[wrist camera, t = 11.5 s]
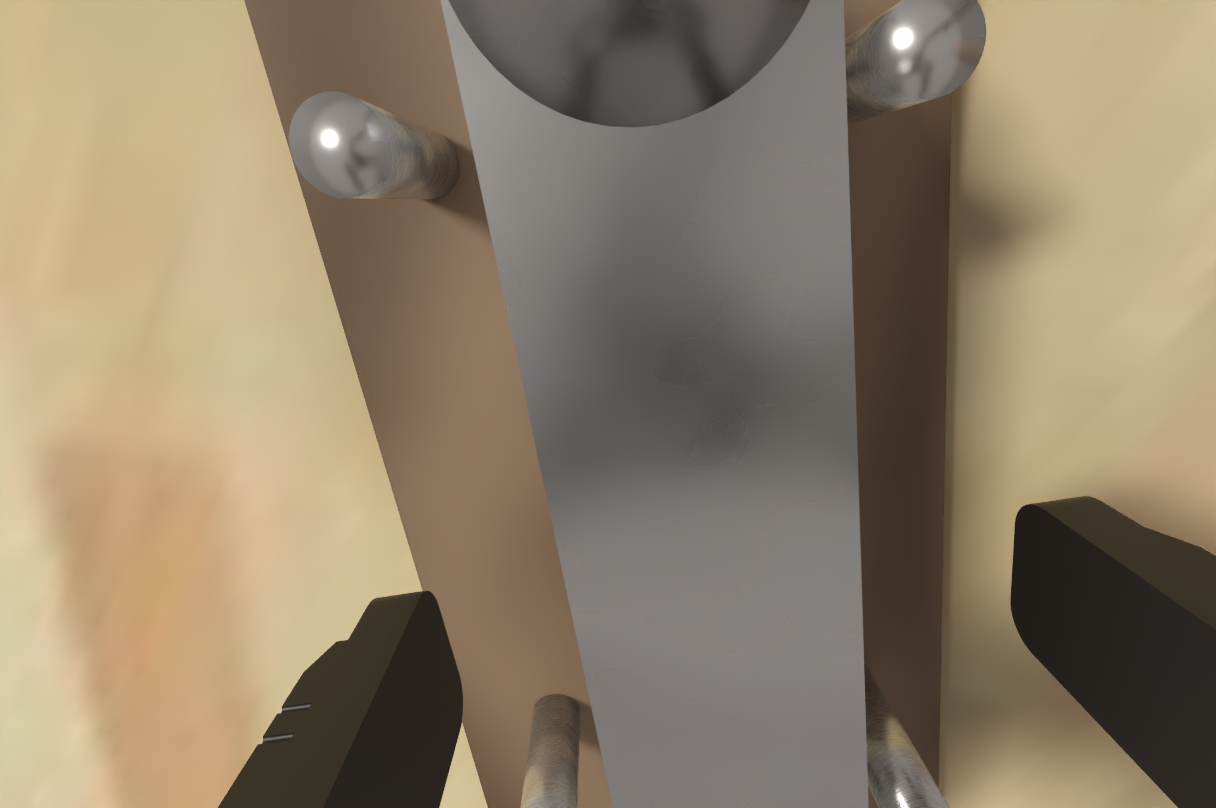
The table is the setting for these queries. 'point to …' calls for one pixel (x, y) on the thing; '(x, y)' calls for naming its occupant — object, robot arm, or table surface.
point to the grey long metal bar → (687, 373)
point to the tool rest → (494, 396)
